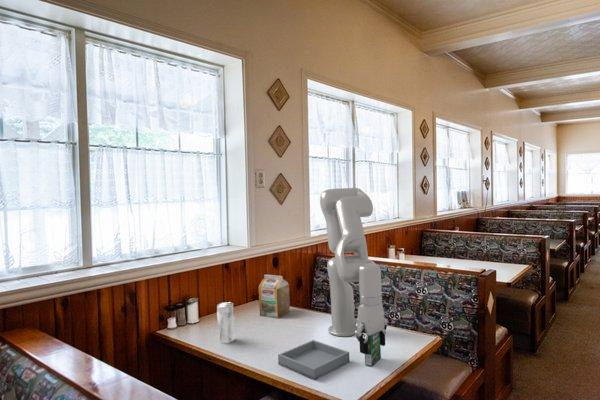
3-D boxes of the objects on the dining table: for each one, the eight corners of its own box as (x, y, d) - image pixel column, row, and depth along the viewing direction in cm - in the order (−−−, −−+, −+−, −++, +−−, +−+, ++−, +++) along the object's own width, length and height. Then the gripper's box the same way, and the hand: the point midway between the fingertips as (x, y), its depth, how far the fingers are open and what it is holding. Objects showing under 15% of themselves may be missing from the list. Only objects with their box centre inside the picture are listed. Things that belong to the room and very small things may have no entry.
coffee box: (372, 367, 139) (370, 329, 138) (364, 365, 140) (362, 327, 140) (381, 358, 146) (380, 321, 145) (374, 357, 147) (372, 320, 147)
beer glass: (239, 338, 171) (237, 302, 170) (229, 344, 165) (227, 307, 164) (225, 336, 174) (223, 301, 173) (215, 342, 167) (213, 306, 167)
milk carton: (290, 312, 203) (288, 273, 202) (277, 318, 194) (276, 278, 193) (272, 309, 208) (270, 272, 208) (259, 315, 199) (257, 276, 199)
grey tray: (313, 348, 157) (313, 339, 157) (349, 362, 144) (349, 352, 144) (278, 364, 145) (277, 354, 144) (314, 380, 132) (313, 369, 132)
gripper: (376, 293, 151) (378, 339, 151) (346, 303, 139) (348, 354, 139) (394, 296, 145) (396, 344, 146) (364, 307, 133) (366, 360, 134)
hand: (372, 349), depth 143 cm, fingers open, 9 cm apart
